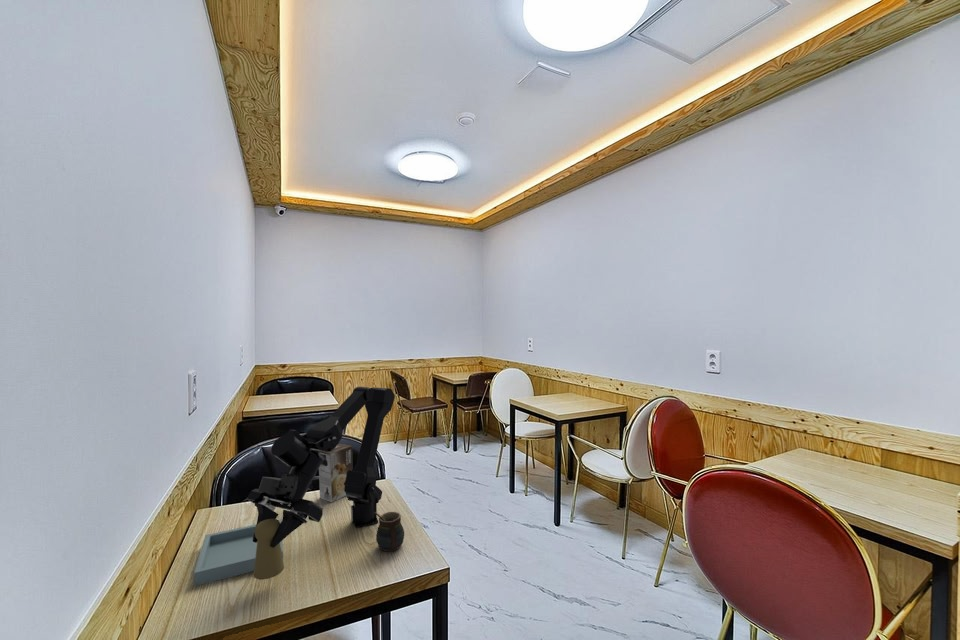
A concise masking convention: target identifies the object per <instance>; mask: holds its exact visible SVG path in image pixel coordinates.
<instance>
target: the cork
mask: <svg viewBox="0 0 960 640" xmlns="http://www.w3.org/2000/svg"><path fill="white" fill-rule="evenodd" d="M279 520H280V519H277V518H276V519H266V520H263V521H261V522H260V523H258V524H257V523H256V524H257V526H256V528H255V537H256V539H258V541H257V549H256V558H255V566H254V571H253V578H255V579H257V580H258V581H259V580H263V581H264V580H269V579H271V578H274V577H277V576H278V575H279V574H281V573H282V572H283V571H284V568H285V564H284V557H283V558H282V552H281V547H280V543H279V544H278V545H276V546H275V547H274V548H272V547H270V544H271V541H272V539H273V537H274V535H275V533H276V531H277V529H278V527H279V525H280V522H279Z"/></svg>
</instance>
